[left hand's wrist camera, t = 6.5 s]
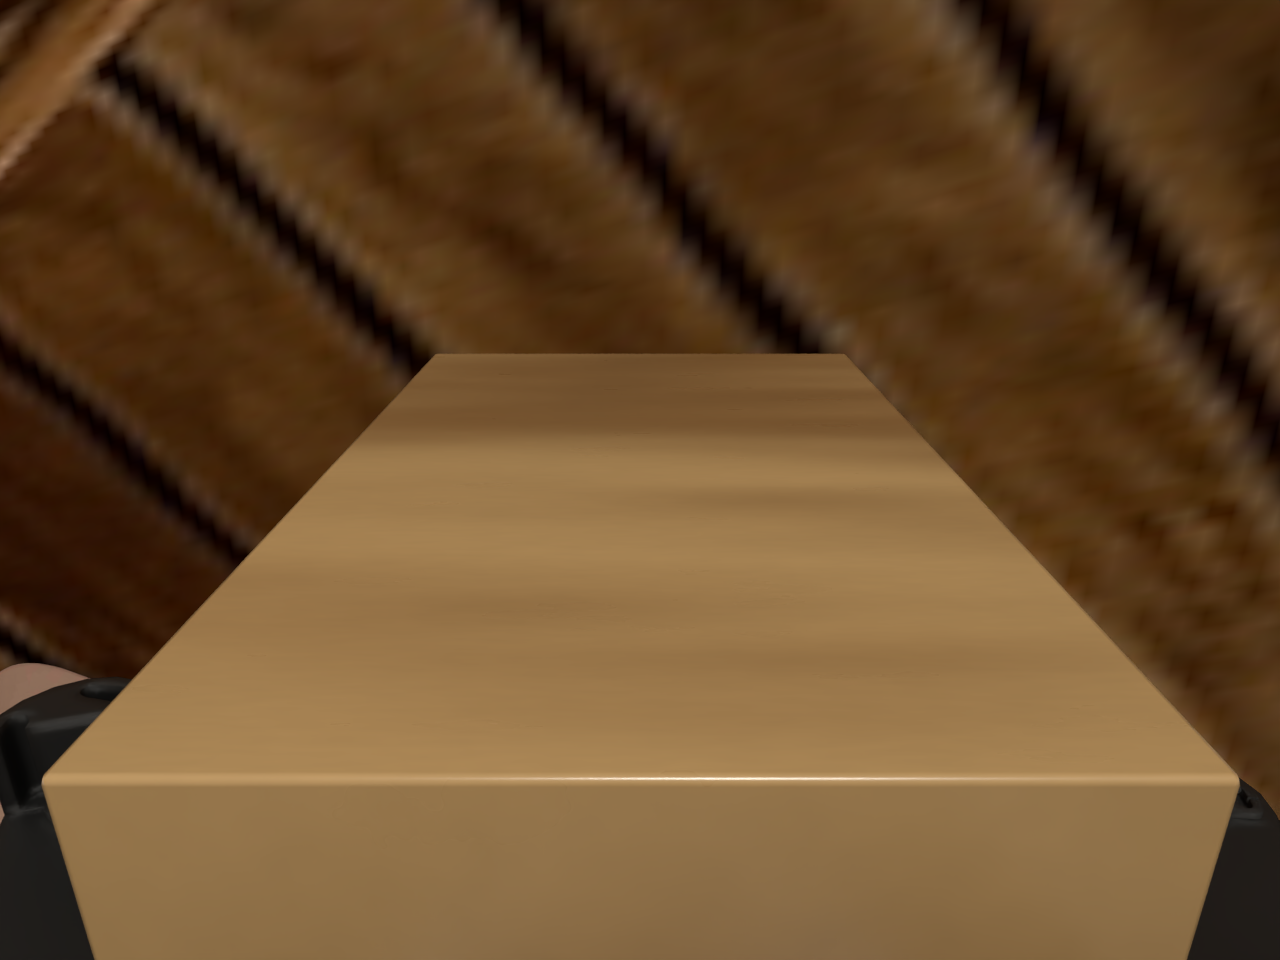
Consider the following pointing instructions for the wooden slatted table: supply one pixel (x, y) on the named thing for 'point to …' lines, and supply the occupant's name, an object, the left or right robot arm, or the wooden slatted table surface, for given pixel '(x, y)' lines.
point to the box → (640, 702)
